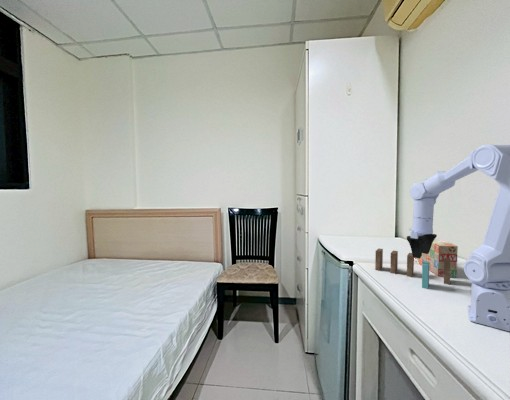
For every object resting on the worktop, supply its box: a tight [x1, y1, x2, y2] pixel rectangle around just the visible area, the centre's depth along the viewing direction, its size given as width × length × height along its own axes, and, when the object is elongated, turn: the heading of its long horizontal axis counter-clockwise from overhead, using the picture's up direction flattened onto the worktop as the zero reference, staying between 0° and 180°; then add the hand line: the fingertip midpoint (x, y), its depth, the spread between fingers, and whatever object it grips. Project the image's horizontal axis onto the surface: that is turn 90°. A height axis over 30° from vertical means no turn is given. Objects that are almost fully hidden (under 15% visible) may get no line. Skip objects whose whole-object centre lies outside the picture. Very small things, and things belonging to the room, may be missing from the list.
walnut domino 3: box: [406, 252, 415, 278], centre depth 91 cm, size 2×5×8 cm, turn 140°
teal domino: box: [421, 261, 430, 290], centre depth 80 cm, size 2×5×8 cm, turn 140°
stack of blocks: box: [414, 238, 459, 278], centre depth 98 cm, size 21×6×12 cm, turn 168°
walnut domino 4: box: [443, 258, 451, 285], centre depth 84 cm, size 2×5×8 cm, turn 140°
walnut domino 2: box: [390, 250, 399, 275], centre depth 94 cm, size 2×5×8 cm, turn 140°
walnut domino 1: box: [374, 248, 384, 272], centre depth 98 cm, size 2×5×8 cm, turn 140°
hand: (420, 255), depth 83 cm, fingers open, 7 cm apart
